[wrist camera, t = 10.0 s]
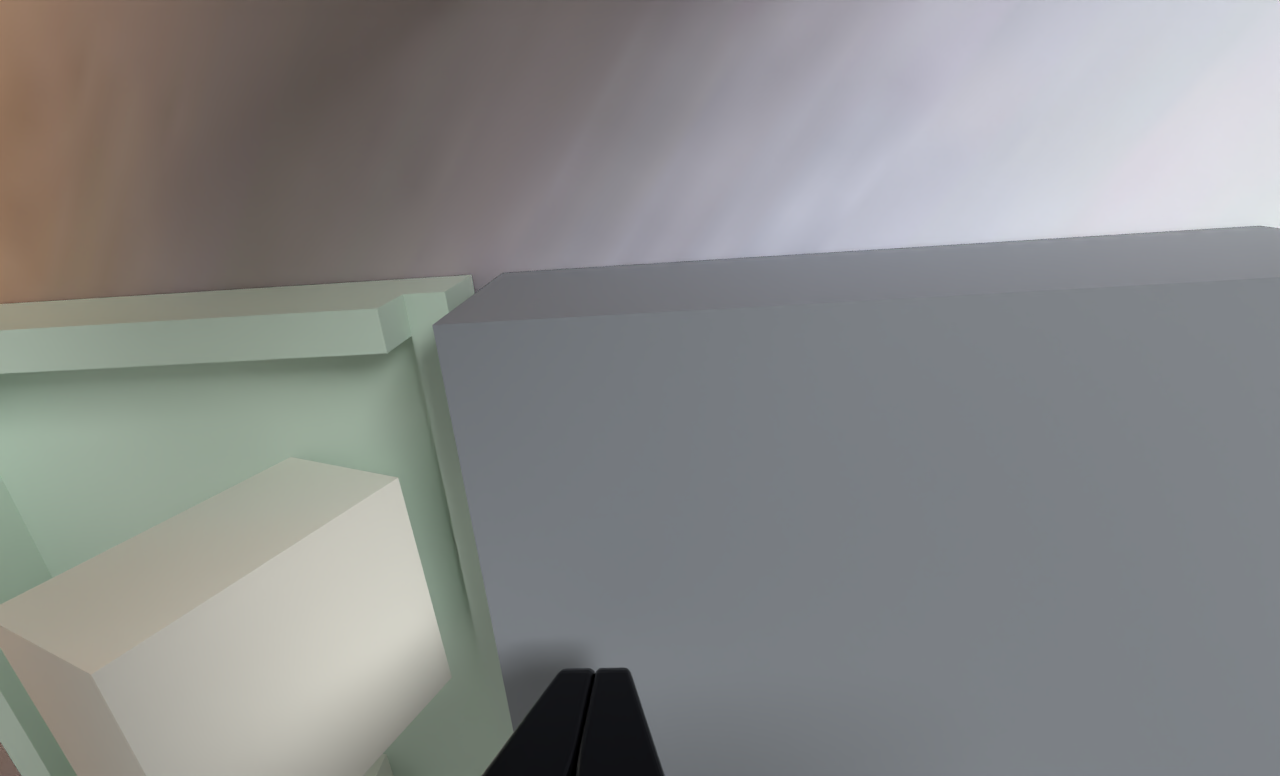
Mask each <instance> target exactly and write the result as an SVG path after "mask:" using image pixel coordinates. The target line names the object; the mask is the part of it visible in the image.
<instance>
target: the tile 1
mask: <svg viewBox="0 0 1280 776" xmlns="http://www.w3.org/2000/svg"><path fill="white" fill-rule="evenodd" d="M0 648H1V650H2V651H3V653H4V655H5V656H6V658H7V660H8V661H9V663H10V665H11V666H12V668H13V670H14V671H15V673H16V675H17V676H18V678H19V680H20V681H21V683H22V685H23V686H24V688H25V690H26V691H27V693H28V695H29V696H30V698H31V700H32V701H33V703H34V705H35V706H36V708H37V710H38V711H39V713H40V715H41V716H42V718H43V720H44V721H45V723H46V724H47V726H48V728H49V729H50V731H51V733H52V734H53V736H54V738H55V739H56V741H57V743H58V744H59V746H60V748H61V749H62V751H63V753H64V754H65V756H66V758H67V759H68V761H69V763H70V764H71V766H72V768H73V769H74V771H75V773H76V774H77V776H363V775H364V774H365V773H366V772H367V771H368V769H369V768H370V767H371V766H372V765H373V764H374V763H375V762H376V761H377V759H378V758H379V757H380V756H381V755H382V754H383V753H384V752H385V751H386V750H387V748H388V747H389V746H390V745H391V744H392V743H393V742H394V741H395V740H396V739H397V737H398V736H399V735H400V734H401V733H402V732H403V731H404V730H405V729H406V727H407V726H408V725H409V724H410V723H411V722H412V721H413V720H414V719H415V718H416V716H417V715H418V714H419V713H420V712H421V711H422V710H423V709H424V708H425V706H426V705H427V704H428V703H429V702H430V701H431V700H432V699H433V698H434V697H435V695H436V694H437V693H438V692H439V691H440V690H441V689H442V688H443V687H444V686H445V684H446V683H447V682H448V681H449V680H450V679H451V678H452V676H451V672H450V669H449V665H448V661H447V657H446V654H445V650H444V646H443V643H442V639H441V635H440V631H439V628H438V624H437V620H436V616H435V613H434V609H433V605H432V602H431V598H430V594H429V590H428V587H427V583H426V579H425V576H424V572H423V568H422V564H421V561H420V557H419V553H418V549H417V546H416V542H415V538H414V535H413V531H412V527H411V523H410V520H409V516H408V512H407V509H406V505H405V501H404V497H403V494H402V490H401V486H400V482H399V479H398V477H393V476H388V475H383V474H377V473H372V472H367V471H362V470H357V469H351V468H346V467H341V466H336V465H330V464H325V463H320V462H315V461H310V460H304V459H299V458H294V457H289V458H287V459H286V460H284V461H282V462H280V463H278V464H276V465H274V466H272V467H270V468H268V469H266V470H264V471H262V472H260V473H258V474H256V475H254V476H252V477H250V478H248V479H246V480H244V481H242V482H240V483H238V484H236V485H234V486H232V487H230V488H228V489H226V490H225V491H223V492H221V493H219V494H217V495H215V496H213V497H211V498H209V499H207V500H205V501H203V502H201V503H199V504H197V505H195V506H193V507H191V508H189V509H187V510H185V511H183V512H181V513H179V514H177V515H175V516H173V517H171V518H169V519H167V520H165V521H164V522H162V523H160V524H158V525H156V526H154V527H152V528H150V529H148V530H146V531H144V532H142V533H140V534H138V535H136V536H134V537H132V538H130V539H128V540H126V541H124V542H122V543H120V544H118V545H116V546H114V547H112V548H110V549H108V550H106V551H104V552H103V553H101V554H99V555H97V556H95V557H93V558H91V559H89V560H87V561H85V562H83V563H81V564H79V565H77V566H75V567H73V568H71V569H69V570H67V571H65V572H63V573H61V574H59V575H57V576H55V577H53V578H51V579H49V580H47V581H45V582H43V583H42V584H40V585H38V586H36V587H34V588H32V589H30V590H28V591H26V592H24V593H22V594H20V595H18V596H16V597H14V598H12V599H10V600H8V601H6V602H4V603H2V604H0Z"/></svg>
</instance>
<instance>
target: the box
mask: <svg viewBox="0 0 1280 776" xmlns="http://www.w3.org/2000/svg"><path fill="white" fill-rule="evenodd" d="M474 294H475V292H474V286H473V280H472V275H461V276H445V277H428V278H412V279H396V280H380V281H364V282H348V283H332V284H316V285H300V286H283V287H267V288H251V289H235V290H219V291H203V292H187V293H171V294H155V295H139V296H122V297H106V298H90V299H74V300H58V301H42V302H26V303H10V304H0V604H2V603H4V602H6V601H8V600H10V599H12V598H14V597H16V596H18V595H20V594H22V593H24V592H26V591H28V590H30V589H32V588H34V587H36V586H38V585H40V584H42V583H43V582H45V581H47V580H49V579H51V578H53V577H55V576H57V575H59V574H61V573H63V572H65V571H67V570H69V569H71V568H73V567H75V566H77V565H79V564H81V563H83V562H85V561H87V560H89V559H91V558H93V557H95V556H97V555H99V554H101V553H103V552H104V551H106V550H108V549H110V548H112V547H114V546H116V545H118V544H120V543H122V542H124V541H126V540H128V539H130V538H132V537H134V536H136V535H138V534H140V533H142V532H144V531H146V530H148V529H150V528H152V527H154V526H156V525H158V524H160V523H162V522H164V521H165V520H167V519H169V518H171V517H173V516H175V515H177V514H179V513H181V512H183V511H185V510H187V509H189V508H191V507H193V506H195V505H197V504H199V503H201V502H203V501H205V500H207V499H209V498H211V497H213V496H215V495H217V494H219V493H221V492H223V491H225V490H226V489H228V488H230V487H232V486H234V485H236V484H238V483H240V482H242V481H244V480H246V479H248V478H250V477H252V476H254V475H256V474H258V473H260V472H262V471H264V470H266V469H268V468H270V467H272V466H274V465H276V464H278V463H280V462H282V461H284V460H286V459H287V458H289V457H294V458H299V459H304V460H310V461H315V462H320V463H325V464H330V465H336V466H341V467H346V468H351V469H357V470H362V471H367V472H372V473H377V474H383V475H388V476H393V477H398V479H399V482H400V486H401V490H402V494H403V497H404V501H405V505H406V509H407V512H408V516H409V520H410V523H411V527H412V531H413V535H414V538H415V542H416V546H417V549H418V553H419V557H420V561H421V564H422V568H423V572H424V576H425V579H426V583H427V587H428V590H429V594H430V598H431V602H432V605H433V609H434V613H435V616H436V620H437V624H438V628H439V631H440V635H441V639H442V643H443V646H444V650H445V654H446V657H447V661H448V665H449V669H450V672H451V676H452V678H451V679H450V680H449V681H448V682H447V683H446V684H445V686H444V687H443V688H442V689H441V690H440V691H439V692H438V693H437V694H436V695H435V697H434V698H433V699H432V700H431V701H430V702H429V703H428V704H427V705H426V706H425V708H424V709H423V710H422V711H421V712H420V713H419V714H418V715H417V716H416V718H415V719H414V720H413V721H412V722H411V723H410V724H409V725H408V726H407V727H406V729H405V730H404V731H403V732H402V733H401V734H400V735H399V736H398V737H397V739H396V740H395V741H394V742H393V743H392V744H391V745H390V746H389V747H388V748H387V750H386V751H385V752H384V753H383V754H387V757H388V760H389V763H390V766H391V770H392V773H393V776H481V775H482V774H483V773H484V771H485V770H486V768H487V767H488V766H489V764H490V763H491V762H492V760H493V759H494V758H495V756H496V755H497V754H498V752H499V751H500V750H501V748H502V747H503V746H504V744H505V743H506V742H507V740H508V739H509V738H510V736H511V735H512V734H513V727H512V722H511V717H510V712H509V707H508V702H507V697H506V692H505V687H504V682H503V677H502V672H501V667H500V662H499V657H498V652H497V647H496V642H495V637H494V632H493V627H492V622H491V617H490V612H489V607H488V602H487V597H486V592H485V587H484V582H483V577H482V572H481V567H480V562H479V557H478V552H477V547H476V542H475V537H474V532H473V527H472V522H471V517H470V512H469V507H468V502H467V497H466V492H465V487H464V482H463V477H462V472H461V467H460V462H459V457H458V452H457V447H456V442H455V437H454V432H453V427H452V422H451V417H450V412H449V407H448V402H447V397H446V392H445V387H444V382H443V377H442V372H441V367H440V362H439V357H438V352H437V347H436V342H435V337H434V332H433V327H432V325H433V324H434V323H436V322H437V321H438V320H440V319H441V318H442V317H444V316H445V315H446V314H448V313H449V312H450V311H452V310H453V309H455V308H456V307H457V306H459V305H460V304H461V303H463V302H464V301H465V300H467V299H468V298H469V297H471V296H472V295H474ZM0 742H1V744H2V745H3V747H4V748H5V750H6V752H7V753H8V755H9V757H10V758H11V760H12V761H13V763H14V765H15V766H16V768H17V769H18V771H19V773H20V774H21V776H77V774H76V773H75V771H74V769H73V768H72V766H71V764H70V763H69V761H68V759H67V758H66V756H65V754H64V753H63V751H62V749H61V748H60V746H59V744H58V743H57V741H56V739H55V738H54V736H53V734H52V733H51V731H50V729H49V728H48V726H47V724H46V723H45V721H44V720H43V718H42V716H41V715H40V713H39V711H38V710H37V708H36V706H35V705H34V703H33V701H32V700H31V698H30V696H29V695H28V693H27V691H26V690H25V688H24V686H23V685H22V683H21V681H20V680H19V678H18V676H17V675H16V673H15V671H14V670H13V668H12V666H11V665H10V663H9V661H8V660H7V658H6V656H5V655H4V653H3V651H2V650H1V648H0Z"/></svg>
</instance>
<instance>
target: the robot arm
mask: <svg viewBox="0 0 1280 776" xmlns="http://www.w3.org/2000/svg"><path fill="white" fill-rule="evenodd" d="M481 776H665V775H664V772H663V769H662V766H661V762H660V759H659V756H658V753H657V750H656V747H655V744H654V741H653V738H652V735H651V732H650V729H649V726H648V723H647V720H646V717H645V714H644V711H643V708H642V705H641V702H640V699H639V696H638V692H637V689H636V686H635V683H634V680H633V677H632V674H631V672H630V670H629V669H628V668H624V667H619V668H599V669H598V670H597V671H596V673H595V671H594V670H593V669H591V668H564V669H562V670H560V671H559V672H558V673H557V675H556V676H555V677H554V679H553V680H552V681H551V683H550V684H549V685H548V687H547V688H546V689H545V691H544V692H543V693H542V695H541V696H540V697H539V699H538V700H537V701H536V703H535V704H534V705H533V707H532V708H531V709H530V711H529V712H528V713H527V715H526V716H525V717H524V719H523V720H522V722H521V723H520V724H519V726H518V727H517V728H516V730H515V731H514V732H513V734H512V735H511V736H510V738H509V739H508V740H507V742H506V743H505V744H504V746H503V747H502V748H501V750H500V751H499V752H498V754H497V755H496V756H495V758H494V759H493V760H492V762H491V763H490V764H489V766H488V767H487V768H486V770H485V771H484V773H483V774H482V775H481Z"/></svg>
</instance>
